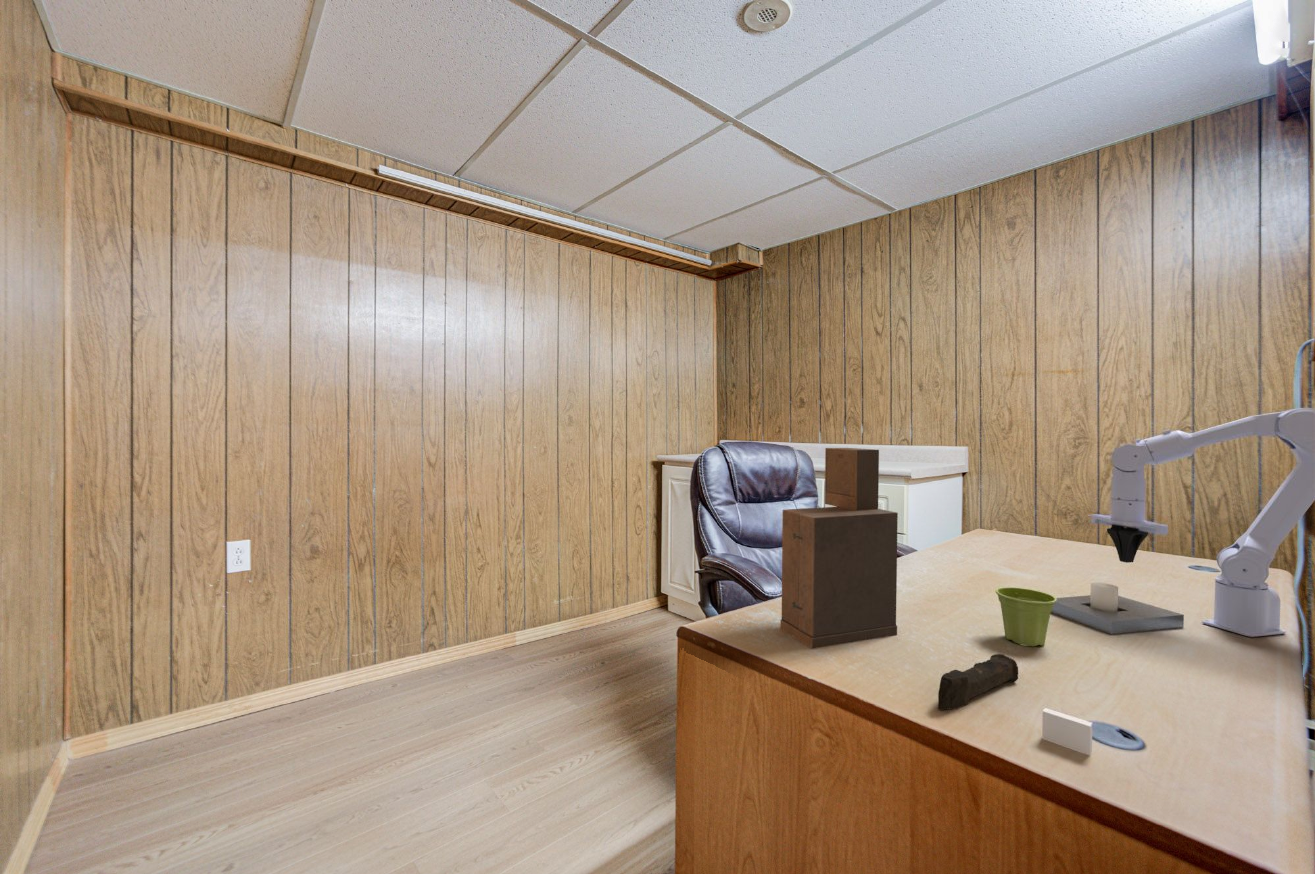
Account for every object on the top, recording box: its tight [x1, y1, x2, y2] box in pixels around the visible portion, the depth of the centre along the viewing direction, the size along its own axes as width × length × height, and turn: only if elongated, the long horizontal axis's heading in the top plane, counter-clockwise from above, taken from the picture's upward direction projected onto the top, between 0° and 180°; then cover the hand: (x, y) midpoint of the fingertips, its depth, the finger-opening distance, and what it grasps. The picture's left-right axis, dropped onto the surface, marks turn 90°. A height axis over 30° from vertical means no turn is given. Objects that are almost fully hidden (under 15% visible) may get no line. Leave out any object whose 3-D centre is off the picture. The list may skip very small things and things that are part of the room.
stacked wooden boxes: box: [779, 447, 899, 649], centre depth 107 cm, size 19×14×35 cm
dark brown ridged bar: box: [937, 653, 1019, 711], centre depth 82 cm, size 19×4×5 cm, turn 121°
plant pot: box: [995, 586, 1057, 647], centre depth 102 cm, size 9×9×9 cm
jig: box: [1050, 594, 1185, 635], centre depth 114 cm, size 18×14×2 cm
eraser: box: [1041, 707, 1093, 756], centre depth 68 cm, size 1×5×4 cm, turn 43°
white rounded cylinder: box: [1090, 582, 1119, 613], centre depth 114 cm, size 4×4×7 cm
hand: (1126, 561), depth 120 cm, fingers closed
